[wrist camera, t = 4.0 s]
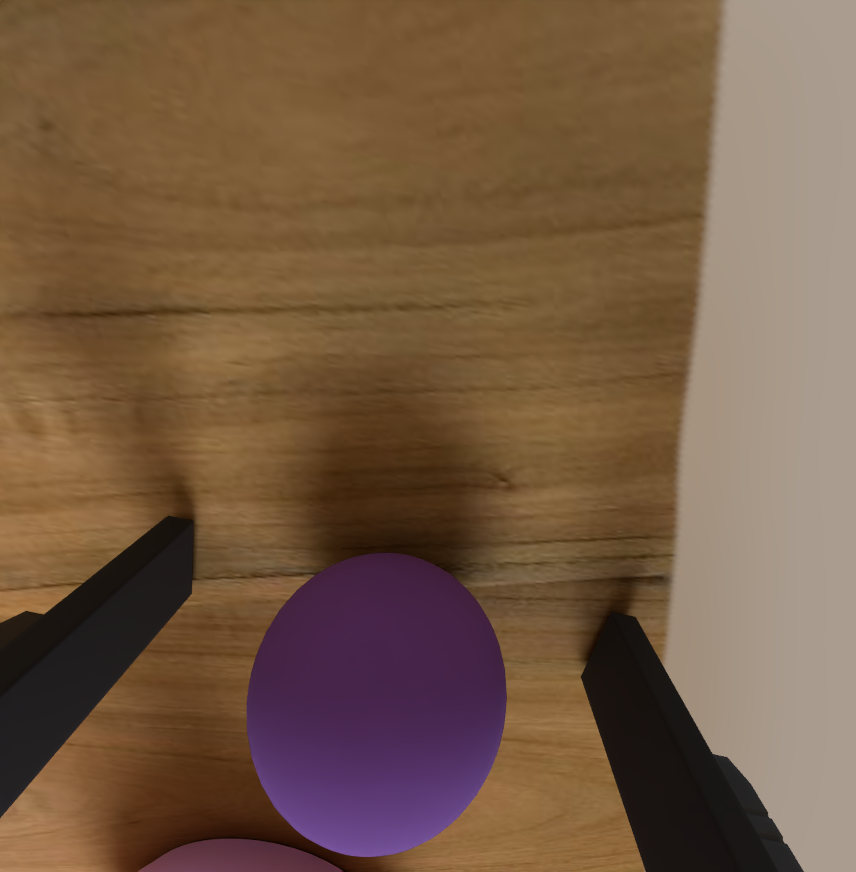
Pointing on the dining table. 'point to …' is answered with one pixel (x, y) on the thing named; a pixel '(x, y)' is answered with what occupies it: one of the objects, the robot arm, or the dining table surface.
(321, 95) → the dining table surface
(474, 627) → the ball
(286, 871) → the teapot
